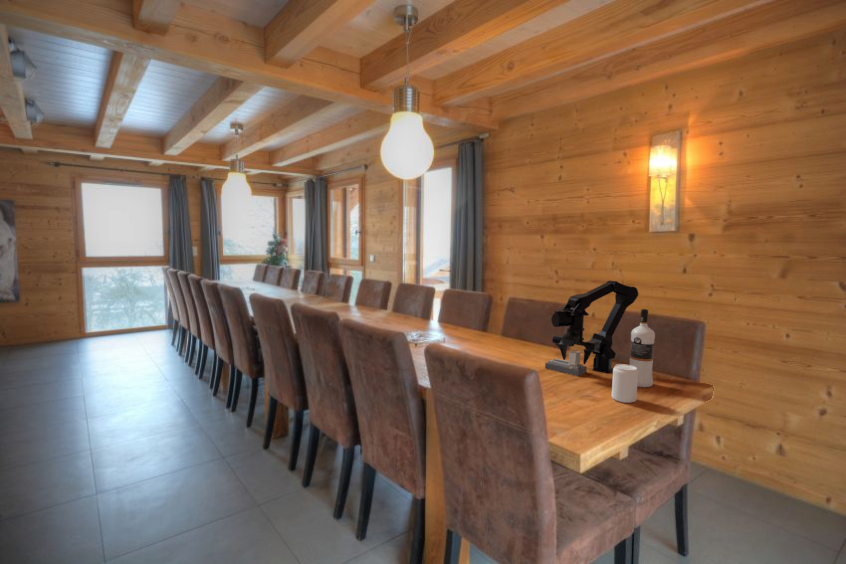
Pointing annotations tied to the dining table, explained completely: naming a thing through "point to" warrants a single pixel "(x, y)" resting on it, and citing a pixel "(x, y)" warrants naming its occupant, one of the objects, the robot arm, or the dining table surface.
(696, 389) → the dining table surface
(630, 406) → the dining table surface
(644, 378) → the vodka
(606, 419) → the dining table surface
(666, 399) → the dining table surface
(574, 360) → the fader tab
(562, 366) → the fader console
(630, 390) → the white cylinder
